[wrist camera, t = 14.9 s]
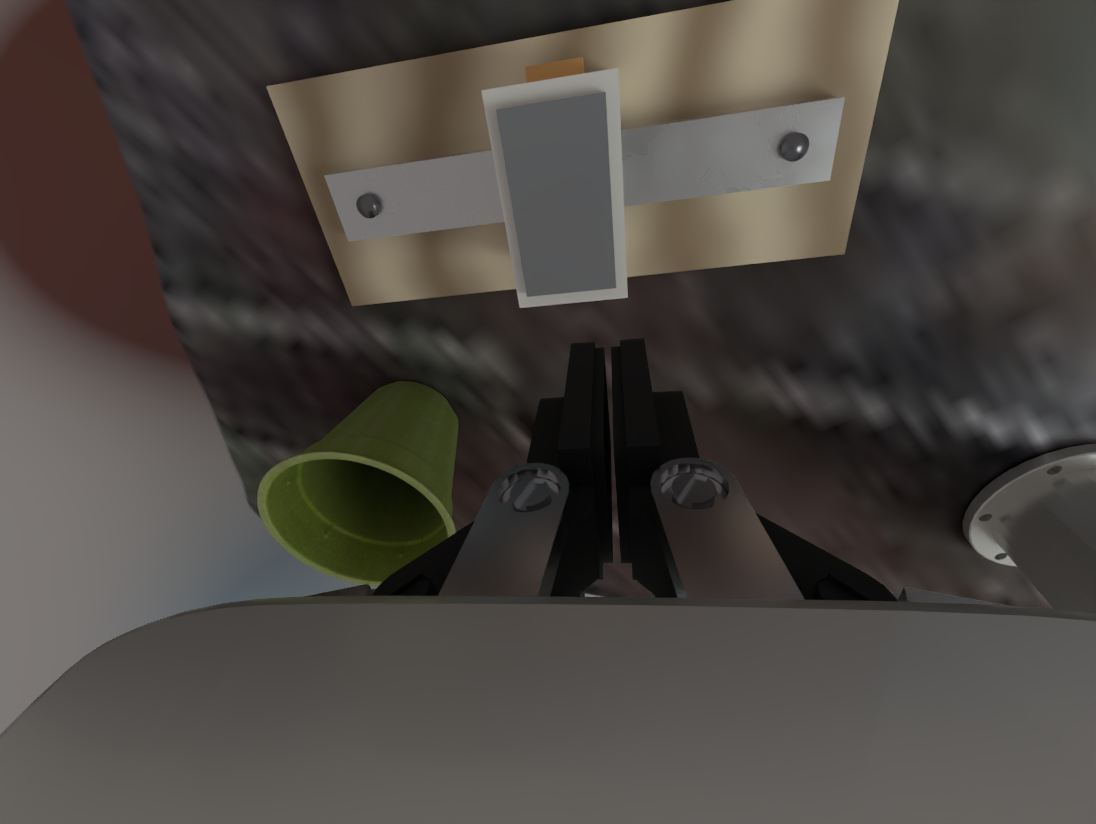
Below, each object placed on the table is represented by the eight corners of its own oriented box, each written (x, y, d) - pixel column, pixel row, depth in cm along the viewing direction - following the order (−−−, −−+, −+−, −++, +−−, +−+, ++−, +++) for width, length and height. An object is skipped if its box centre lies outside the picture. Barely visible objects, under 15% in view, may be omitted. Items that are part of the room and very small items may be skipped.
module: (611, 55, 22) (618, 45, 16) (620, 249, 28) (628, 300, 21) (508, 73, 23) (475, 70, 17) (536, 258, 28) (518, 311, 22)
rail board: (893, -27, 21) (905, -32, 20) (837, 248, 27) (844, 254, 27) (276, 86, 25) (266, 86, 24) (358, 300, 32) (352, 306, 31)
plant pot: (362, 472, 41) (295, 584, 32) (322, 350, 34) (222, 449, 25) (496, 477, 40) (467, 594, 31) (481, 353, 33) (438, 457, 24)
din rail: (834, 96, 23) (848, 97, 21) (820, 176, 25) (833, 181, 23) (334, 171, 26) (320, 176, 25) (357, 236, 28) (345, 243, 27)
